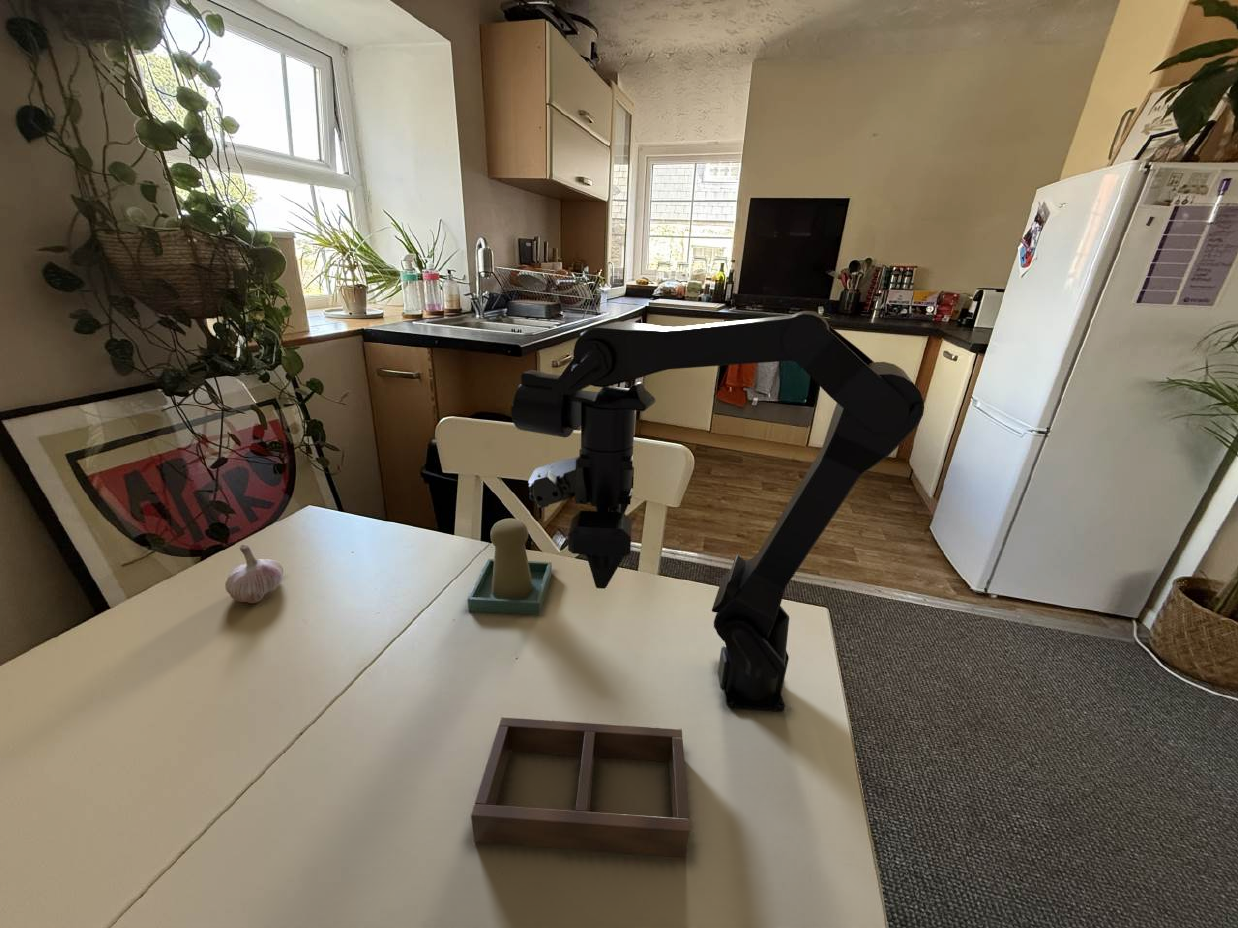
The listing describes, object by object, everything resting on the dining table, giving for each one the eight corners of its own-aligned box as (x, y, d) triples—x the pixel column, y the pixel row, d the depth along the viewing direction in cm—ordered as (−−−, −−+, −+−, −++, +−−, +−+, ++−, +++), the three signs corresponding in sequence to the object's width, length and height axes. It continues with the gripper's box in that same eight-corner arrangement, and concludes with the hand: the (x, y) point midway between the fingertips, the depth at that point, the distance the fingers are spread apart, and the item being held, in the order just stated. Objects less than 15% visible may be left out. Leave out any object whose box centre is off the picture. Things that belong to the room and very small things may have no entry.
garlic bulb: (253, 613, 67) (238, 563, 64) (213, 601, 69) (196, 552, 66) (301, 581, 74) (289, 534, 71) (263, 571, 76) (250, 526, 72)
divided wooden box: (678, 753, 50) (681, 728, 49) (686, 857, 41) (690, 831, 40) (503, 741, 51) (501, 716, 49) (473, 842, 42) (470, 815, 41)
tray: (551, 572, 78) (551, 562, 77) (539, 615, 69) (539, 603, 68) (489, 569, 78) (488, 558, 78) (468, 610, 69) (467, 599, 68)
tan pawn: (524, 604, 70) (521, 537, 66) (484, 597, 71) (478, 531, 67) (539, 579, 75) (537, 516, 71) (501, 573, 76) (497, 510, 72)
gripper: (548, 414, 63) (550, 522, 69) (512, 473, 45) (519, 611, 51) (636, 419, 62) (631, 527, 68) (634, 479, 45) (627, 617, 51)
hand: (603, 564), depth 60 cm, fingers open, 9 cm apart
